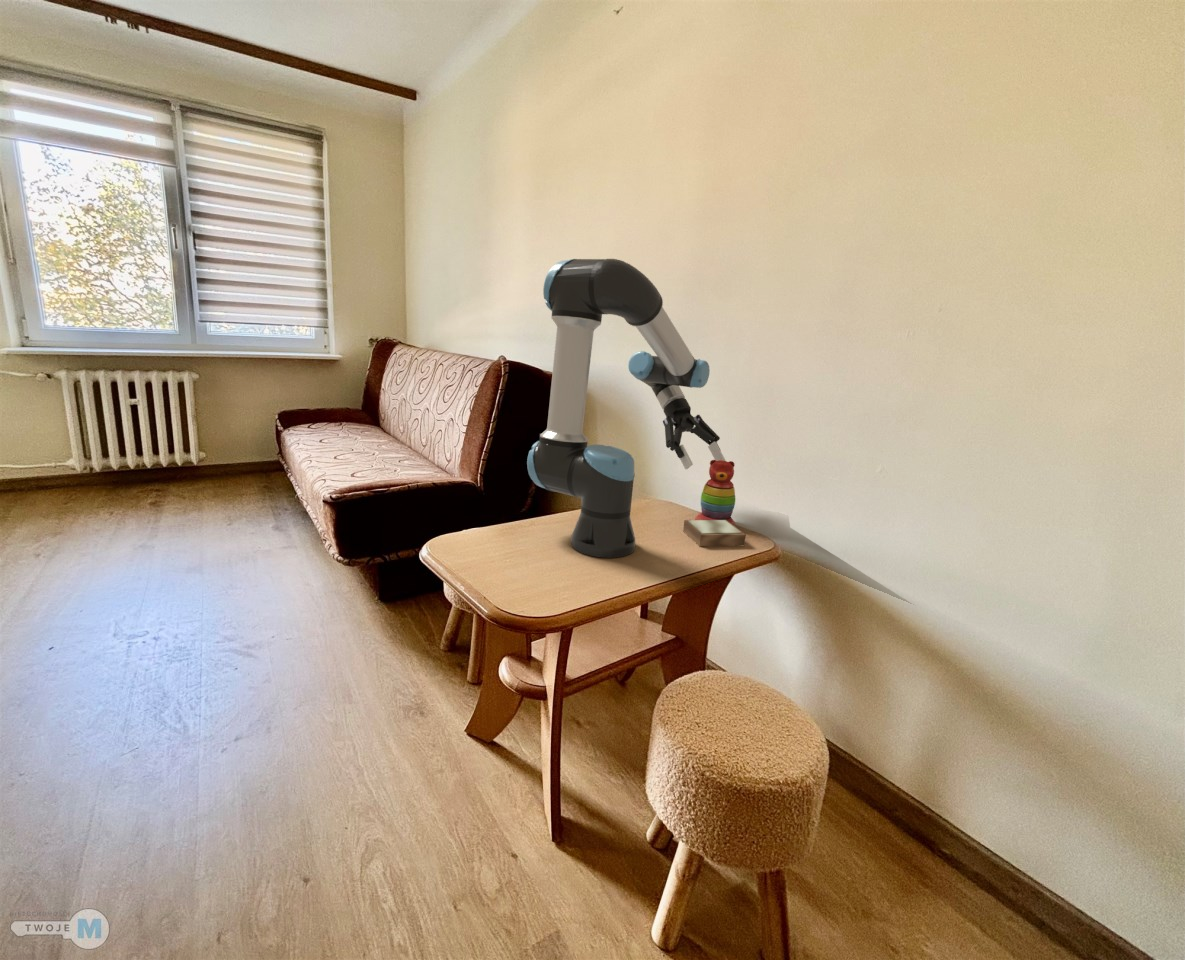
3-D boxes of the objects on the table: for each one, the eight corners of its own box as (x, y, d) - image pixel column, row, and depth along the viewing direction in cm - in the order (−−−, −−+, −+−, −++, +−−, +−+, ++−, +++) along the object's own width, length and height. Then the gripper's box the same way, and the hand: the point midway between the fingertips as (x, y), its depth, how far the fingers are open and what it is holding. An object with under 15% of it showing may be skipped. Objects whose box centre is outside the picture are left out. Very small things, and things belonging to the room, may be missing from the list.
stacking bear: (693, 524, 150) (700, 461, 145) (697, 514, 159) (704, 454, 155) (733, 531, 147) (742, 467, 142) (735, 520, 156) (744, 459, 152)
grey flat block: (699, 546, 134) (701, 534, 133) (683, 530, 144) (684, 519, 144) (744, 545, 137) (746, 533, 136) (725, 530, 147) (726, 519, 146)
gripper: (695, 410, 173) (726, 467, 165) (636, 413, 158) (666, 475, 151) (710, 396, 167) (742, 454, 160) (650, 397, 153) (682, 461, 145)
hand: (705, 464), depth 155 cm, fingers open, 13 cm apart
